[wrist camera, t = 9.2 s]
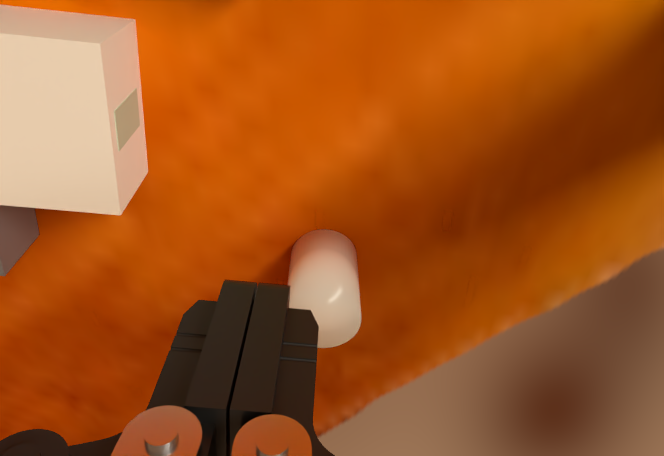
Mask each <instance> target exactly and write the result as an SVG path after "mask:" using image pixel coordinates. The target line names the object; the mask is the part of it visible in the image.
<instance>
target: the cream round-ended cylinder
mask: <svg viewBox="0 0 664 456" xmlns="http://www.w3.org/2000/svg"><path fill="white" fill-rule="evenodd" d="M288 285H290V301H289V308H295V309H306V310H311V312H312V314H313V316H314V318H315V320H316V322H317V324H318V326H319V332H318V346H317V348H330V347H335V346H338V345H341V344H343V343H346V342H347V341H349V340H350V339H351V338H353V337H354V336H355V334H356V333H357V332H358V330H359V328H360V325H361V307H360V293H359V279H358V265H357V253H356V249H355V246H354V245H353V243H352V242H351V241H350V240H349V239H348V238H347V237H346V236H345V235H343V234H341V233H339V232H336V231H333V230H326V229H322V230H314V231H311V232H309V233H306V234H305V235H303V236H302V237H300V238H299V239H298V240H297V241H296V243H295V244H294V246H293V248H292V251H291V259H290V268H289V278H288Z"/></svg>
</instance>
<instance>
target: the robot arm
mask: <svg viewBox="0 0 664 456" xmlns="http://www.w3.org/2000/svg"><path fill="white" fill-rule="evenodd" d="M289 301H290V285H279V284H268V283H259V284H258V288H257V283H256V282H245V281H234V280H225V281H224V283H223V285H222V289H221V292H220V295H219V298H218V301H217V302H216V301H205V300H198V301H197V302H196V303H195V304H194V305H193V306H192V307H191V308H190V309H189V310H188V311H187V312H186V313H185V314H184V315H183V317H182V320H181V322H180V325H179V328H178V330H177V335H176V336H175V338H174V340H173V343H172V346H171V350H170V351H169V353H168V356H167V358H166V361H165V364H164V366H163V369H162V371H161V374H160V377H159V379H158V382H157V384H156V387H155V389H154V392H153V395H152V397H151V400H150V402H149V405H148V407H147V409H146V411H144V412H142V413H140V414H139V415H137V416H136V417H135V418H134V419H132V420H131V421H130V422H129V424H128V425H127V426H126V427H125V429H124V431H123V432H121V433H119V434H117V435H115V436H112V437H110V438H106V439H102V440H98V441H93V442H88V443H83V444H78V445H73V446H67V443H66V442H65V440H64V439H63V438H62V437H61V436H60V435H59V434H57V433H55V432H53V431H49V430H44V429H32V430H26V431H22V432H18V433H16V434H13V435H11V436H9V437H7V438H5V439H3V440H1V441H0V456H335V455H333V454H332V453H330V452H329V451H328V450H327V449H326V448H324V446H323V445H322V444H321V443H320V441H319V440H318V438H317V436H316V434H315V431H314V427H313V407H314V392H315V377H316V361H317V346H318V332H319V326H318V324H317V322H316V320H315V318H314V316H313V314H312V312H311V310H306V309H295V308H289Z"/></svg>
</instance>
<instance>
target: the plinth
mask: <svg viewBox="0 0 664 456" xmlns="http://www.w3.org/2000/svg"><path fill="white" fill-rule="evenodd" d="M39 235H40V234H39V229H38V224H37V219H36V214H35V209H34V208H29V207H18V206H6V205H0V276H5V275H6V274H7V273H8V272H9V270H10V269H11V268H12V267H13V266H14V264H15V263H16V262H17V261H18V260H19V258H20V257H21V256H22V255H23V254H24V252H25V251H26V250H27V249H28V248H29V247H30V245H31V244H32V243H33V242H34V241H35V239H36V238H37V237H38V236H39Z"/></svg>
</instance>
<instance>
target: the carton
mask: <svg viewBox="0 0 664 456" xmlns="http://www.w3.org/2000/svg"><path fill="white" fill-rule="evenodd" d="M147 173H148V164H147V152H146V140H145V129H144V117H143V105H142V93H141V81H140V70H139V58H138V46H137V34H136V22H135V19H127V18H118V17H109V16H99V15H90V14H81V13H72V12H63V11H54V10H44V9H35V8H26V7H17V6H8V5H0V205H6V206H18V207H29V208H41V209H53V210H64V211H76V212H87V213H99V214H111V215H121V214H122V213H123V211H124V209H125V208H126V206H127V205H128V203H129V201H130V200H131V198H132V197H133V195H134V194H135V192H136V190H137V189H138V187H139V186H140V184H141V182H142V181H143V179H144V178H145V176H146V174H147Z"/></svg>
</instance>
